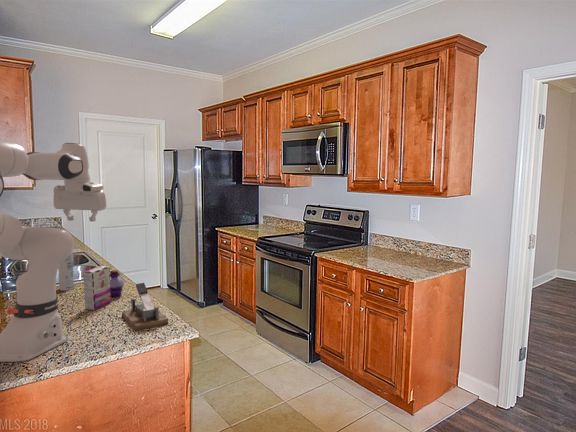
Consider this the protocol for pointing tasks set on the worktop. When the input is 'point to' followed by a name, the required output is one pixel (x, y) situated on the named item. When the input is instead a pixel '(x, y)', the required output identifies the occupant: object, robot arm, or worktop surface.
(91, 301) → the candy bar box
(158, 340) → the worktop surface
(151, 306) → the clamp bar
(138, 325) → the walnut base plate
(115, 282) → the potion bottle
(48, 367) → the worktop surface
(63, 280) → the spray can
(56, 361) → the worktop surface
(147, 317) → the block
